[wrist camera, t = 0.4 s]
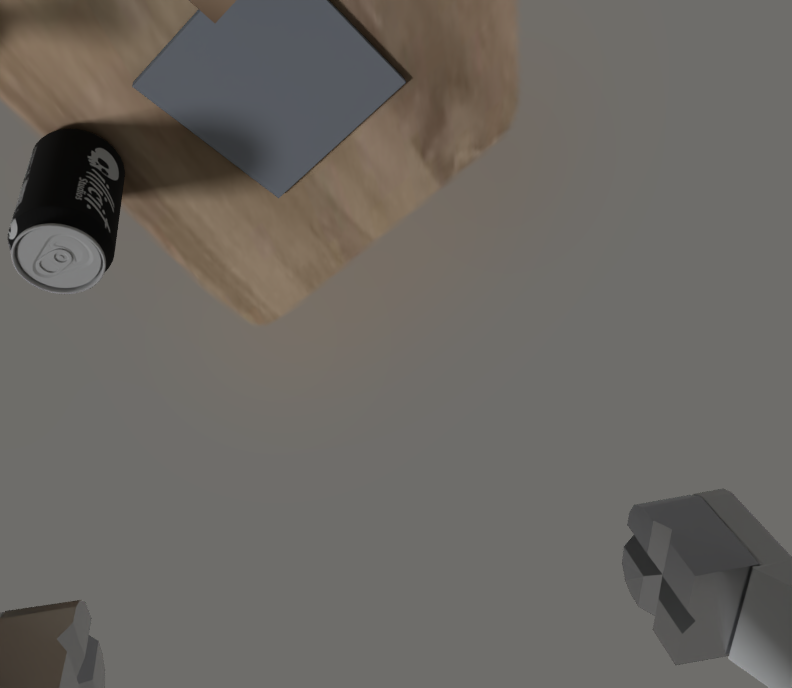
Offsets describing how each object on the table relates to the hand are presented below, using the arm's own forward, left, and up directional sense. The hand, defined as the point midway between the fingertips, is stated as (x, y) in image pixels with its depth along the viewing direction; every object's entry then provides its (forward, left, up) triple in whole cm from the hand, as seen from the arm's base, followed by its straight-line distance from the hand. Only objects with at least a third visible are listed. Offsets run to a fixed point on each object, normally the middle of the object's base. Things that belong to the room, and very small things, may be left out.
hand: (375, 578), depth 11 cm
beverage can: (+26, +6, -49) cm, 55 cm away
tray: (+11, +12, -48) cm, 51 cm away
